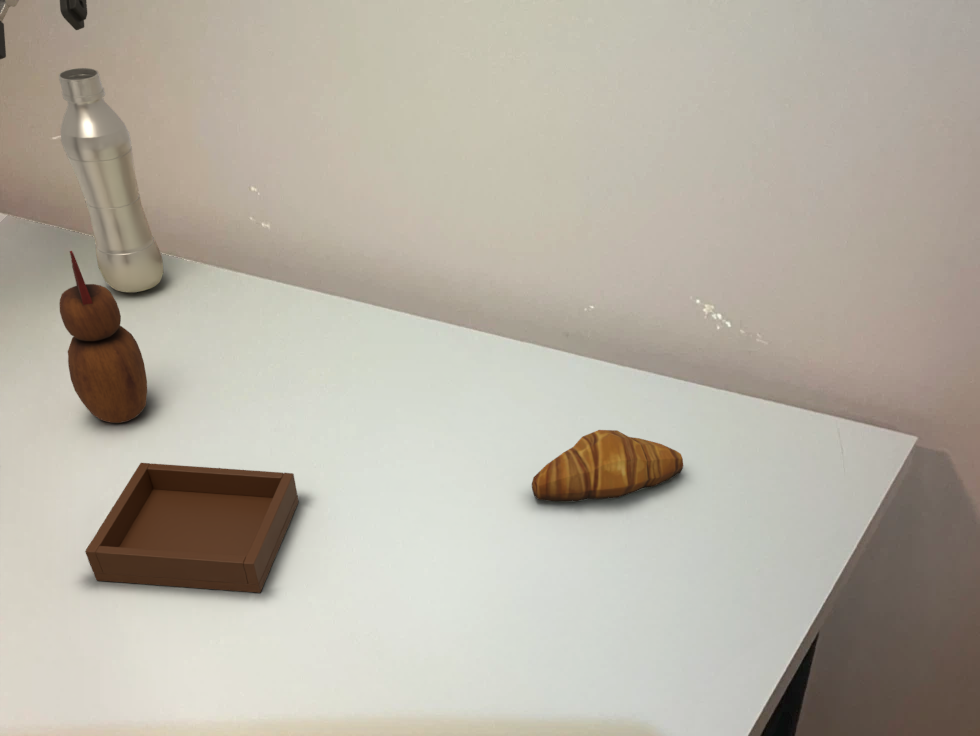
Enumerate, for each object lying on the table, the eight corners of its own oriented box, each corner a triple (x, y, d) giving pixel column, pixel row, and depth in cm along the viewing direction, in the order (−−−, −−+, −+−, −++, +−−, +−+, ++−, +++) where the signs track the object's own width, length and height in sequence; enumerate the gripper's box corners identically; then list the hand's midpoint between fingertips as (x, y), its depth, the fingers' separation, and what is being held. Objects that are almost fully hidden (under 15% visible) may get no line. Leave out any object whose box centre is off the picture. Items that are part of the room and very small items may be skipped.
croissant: (663, 451, 90) (670, 400, 86) (696, 494, 86) (704, 442, 82) (518, 478, 87) (519, 426, 83) (545, 524, 82) (546, 471, 79)
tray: (96, 581, 77) (84, 551, 74) (149, 491, 84) (140, 462, 82) (260, 593, 76) (253, 563, 74) (299, 501, 84) (293, 472, 82)
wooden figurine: (146, 431, 90) (96, 261, 79) (80, 432, 90) (20, 262, 79) (160, 392, 95) (114, 226, 84) (97, 393, 95) (42, 226, 83)
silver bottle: (178, 275, 111) (127, 65, 96) (151, 303, 107) (94, 87, 92) (122, 269, 112) (64, 60, 97) (94, 297, 107) (27, 82, 93)
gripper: (-76, -131, 91) (-67, 32, 89) (57, -191, 88) (70, -22, 86) (-10, -62, 98) (0, 91, 96) (115, -115, 95) (128, 42, 93)
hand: (33, 37), depth 91 cm, fingers open, 8 cm apart
